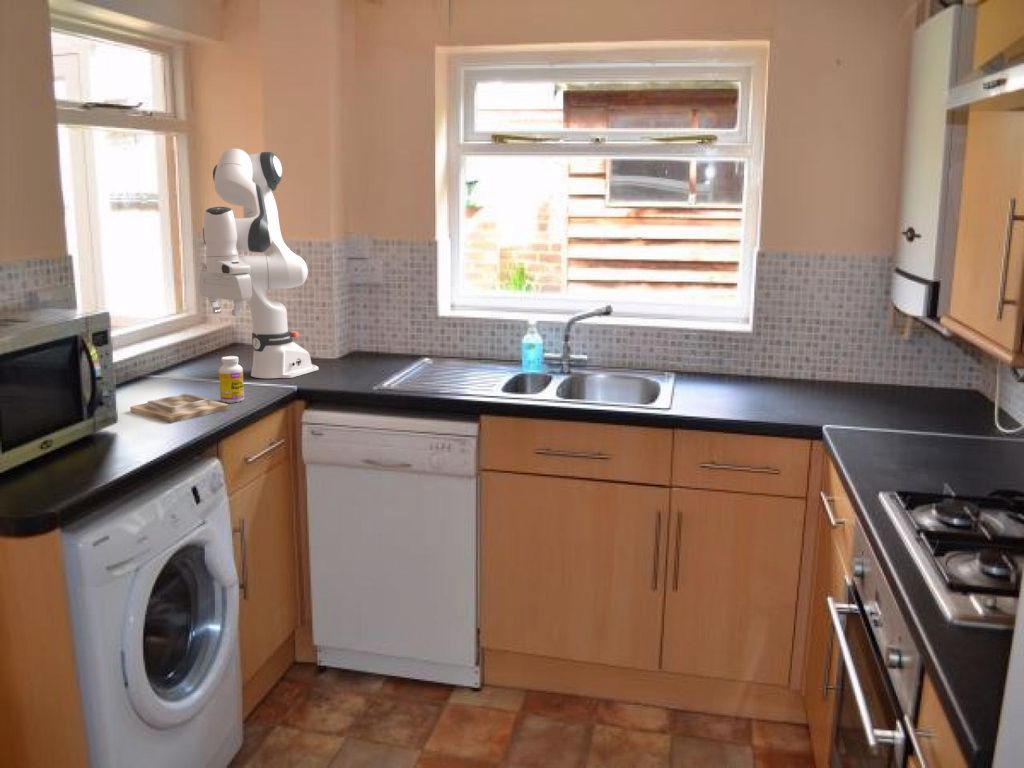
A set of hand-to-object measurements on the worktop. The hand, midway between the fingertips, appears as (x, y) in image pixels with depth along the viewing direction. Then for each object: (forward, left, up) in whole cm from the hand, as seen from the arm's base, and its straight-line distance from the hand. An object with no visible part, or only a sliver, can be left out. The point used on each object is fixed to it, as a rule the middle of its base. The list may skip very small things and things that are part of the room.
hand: (226, 314), depth 263 cm
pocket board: (+16, -2, -25) cm, 30 cm away
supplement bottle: (0, 0, -26) cm, 26 cm away
